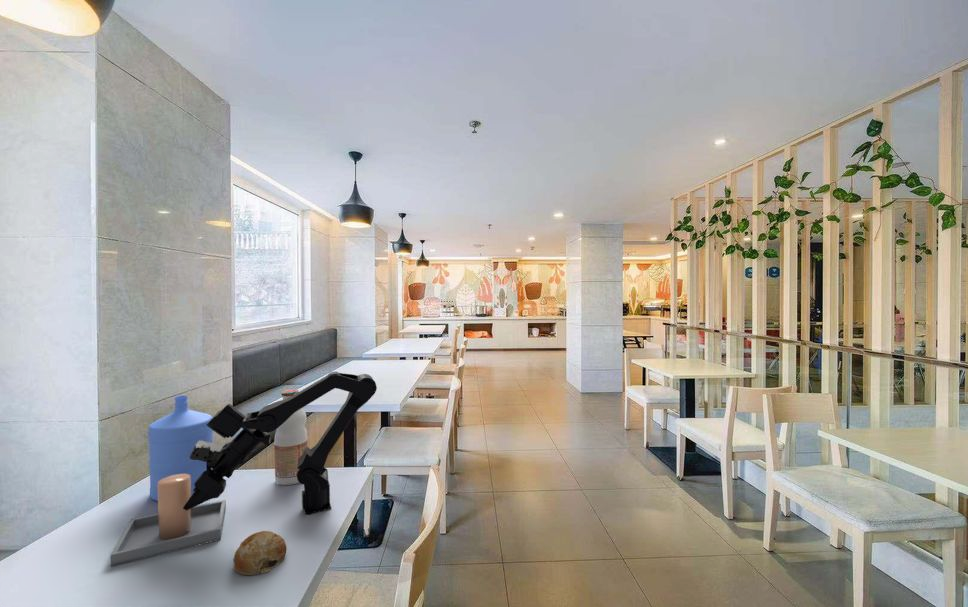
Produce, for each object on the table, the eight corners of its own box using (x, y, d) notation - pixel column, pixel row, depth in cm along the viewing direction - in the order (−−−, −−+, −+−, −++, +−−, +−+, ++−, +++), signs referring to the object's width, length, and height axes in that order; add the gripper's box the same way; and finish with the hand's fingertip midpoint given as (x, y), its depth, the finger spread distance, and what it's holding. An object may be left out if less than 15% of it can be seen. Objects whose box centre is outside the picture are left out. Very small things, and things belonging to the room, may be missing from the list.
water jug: (202, 499, 118) (199, 401, 117) (137, 506, 114) (134, 405, 113) (222, 475, 133) (220, 389, 132) (166, 481, 129) (164, 392, 128)
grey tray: (225, 508, 112) (225, 499, 112) (220, 539, 98) (220, 529, 98) (131, 529, 103) (131, 519, 103) (111, 566, 89) (110, 555, 89)
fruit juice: (282, 489, 124) (280, 396, 123) (270, 479, 130) (268, 391, 129) (313, 478, 130) (311, 390, 130) (300, 470, 137) (299, 386, 136)
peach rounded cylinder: (197, 524, 104) (196, 473, 104) (180, 539, 98) (179, 485, 97) (170, 525, 104) (169, 474, 103) (152, 540, 97) (150, 486, 97)
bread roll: (244, 597, 85) (253, 569, 83) (221, 561, 89) (228, 533, 87) (289, 570, 93) (298, 543, 91) (265, 538, 98) (273, 512, 96)
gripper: (220, 419, 112) (172, 466, 108) (204, 442, 95) (146, 499, 91) (254, 443, 115) (208, 490, 111) (244, 469, 98) (191, 526, 94)
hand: (189, 500), depth 102 cm, fingers open, 9 cm apart
